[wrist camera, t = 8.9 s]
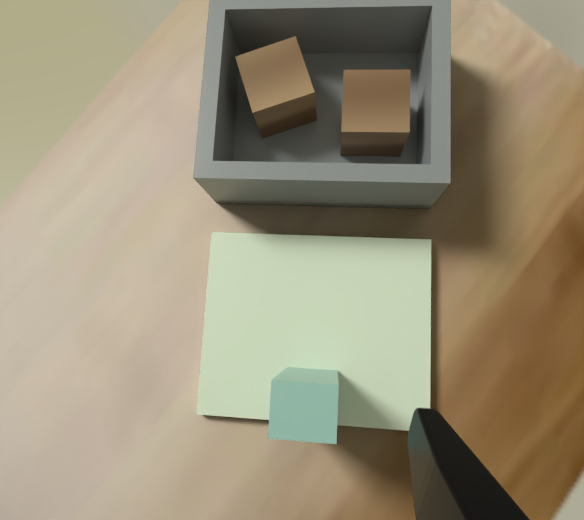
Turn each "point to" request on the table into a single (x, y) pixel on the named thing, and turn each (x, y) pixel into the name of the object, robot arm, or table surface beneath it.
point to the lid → (316, 332)
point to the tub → (326, 104)
